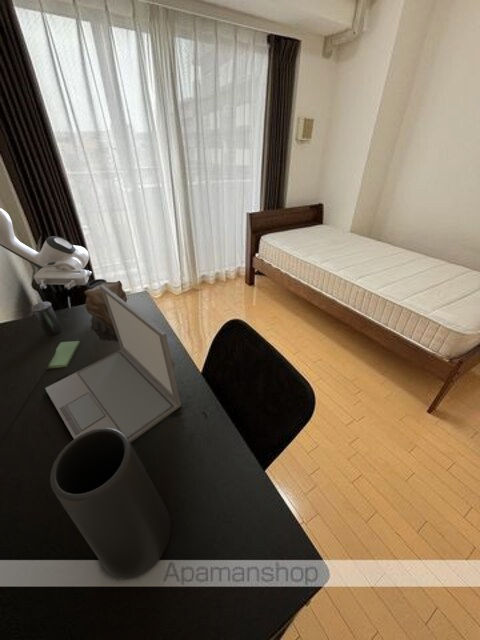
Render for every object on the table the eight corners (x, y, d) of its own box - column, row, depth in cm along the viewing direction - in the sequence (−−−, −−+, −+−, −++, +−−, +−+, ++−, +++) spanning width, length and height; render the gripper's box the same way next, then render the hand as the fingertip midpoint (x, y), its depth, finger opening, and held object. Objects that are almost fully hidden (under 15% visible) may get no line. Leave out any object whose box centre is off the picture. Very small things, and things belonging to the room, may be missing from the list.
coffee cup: (92, 318, 120) (80, 287, 111) (104, 307, 126) (94, 277, 118) (110, 320, 118) (99, 289, 109) (121, 310, 125) (112, 279, 116)
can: (41, 336, 110) (27, 311, 103) (49, 327, 115) (36, 302, 108) (59, 335, 110) (46, 310, 103) (65, 325, 116) (53, 300, 109)
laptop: (46, 391, 88) (2, 319, 72) (125, 350, 103) (103, 284, 87) (92, 470, 68) (45, 396, 52) (182, 405, 83) (166, 332, 67)
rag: (45, 368, 96) (44, 366, 95) (61, 343, 106) (60, 342, 106) (66, 367, 96) (65, 365, 96) (80, 342, 107) (79, 340, 106)
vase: (183, 514, 60) (159, 436, 43) (141, 595, 50) (88, 534, 33) (133, 487, 65) (93, 407, 48) (84, 556, 54) (12, 486, 38)
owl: (94, 340, 108) (76, 295, 96) (110, 321, 118) (95, 277, 106) (126, 342, 107) (111, 296, 95) (139, 322, 117) (127, 279, 105)
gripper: (94, 276, 128) (83, 294, 117) (47, 275, 126) (31, 293, 116) (90, 264, 124) (78, 281, 113) (41, 263, 122) (24, 280, 112)
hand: (54, 287), depth 114 cm, fingers open, 8 cm apart
